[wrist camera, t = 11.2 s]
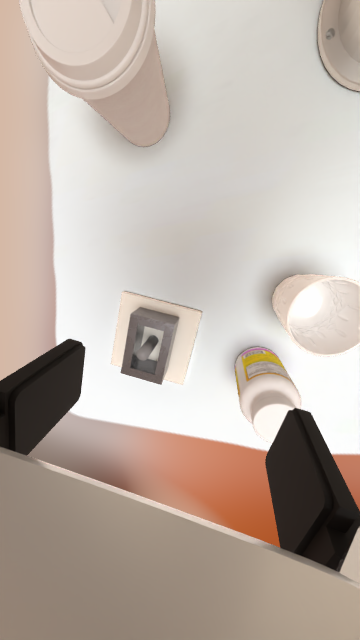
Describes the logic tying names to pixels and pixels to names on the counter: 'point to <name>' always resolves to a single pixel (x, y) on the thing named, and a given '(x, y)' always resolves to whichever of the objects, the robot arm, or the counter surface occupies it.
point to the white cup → (320, 313)
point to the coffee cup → (104, 60)
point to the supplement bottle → (264, 391)
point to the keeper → (158, 334)
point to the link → (137, 323)
